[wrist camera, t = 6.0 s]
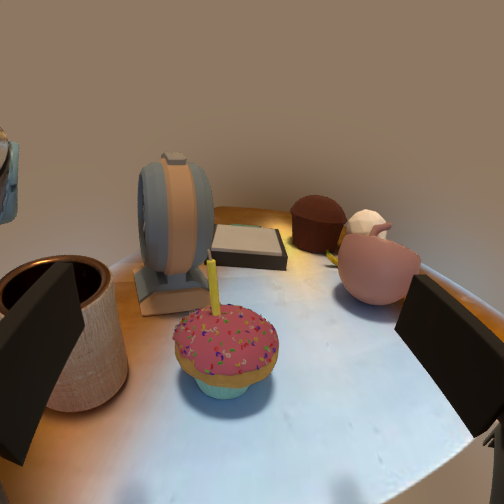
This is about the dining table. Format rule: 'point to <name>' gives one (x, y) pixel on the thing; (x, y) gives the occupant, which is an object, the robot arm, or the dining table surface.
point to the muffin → (317, 223)
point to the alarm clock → (173, 236)
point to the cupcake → (225, 345)
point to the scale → (248, 247)
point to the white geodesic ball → (365, 223)
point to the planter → (92, 338)
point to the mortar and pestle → (376, 267)
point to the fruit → (332, 258)
